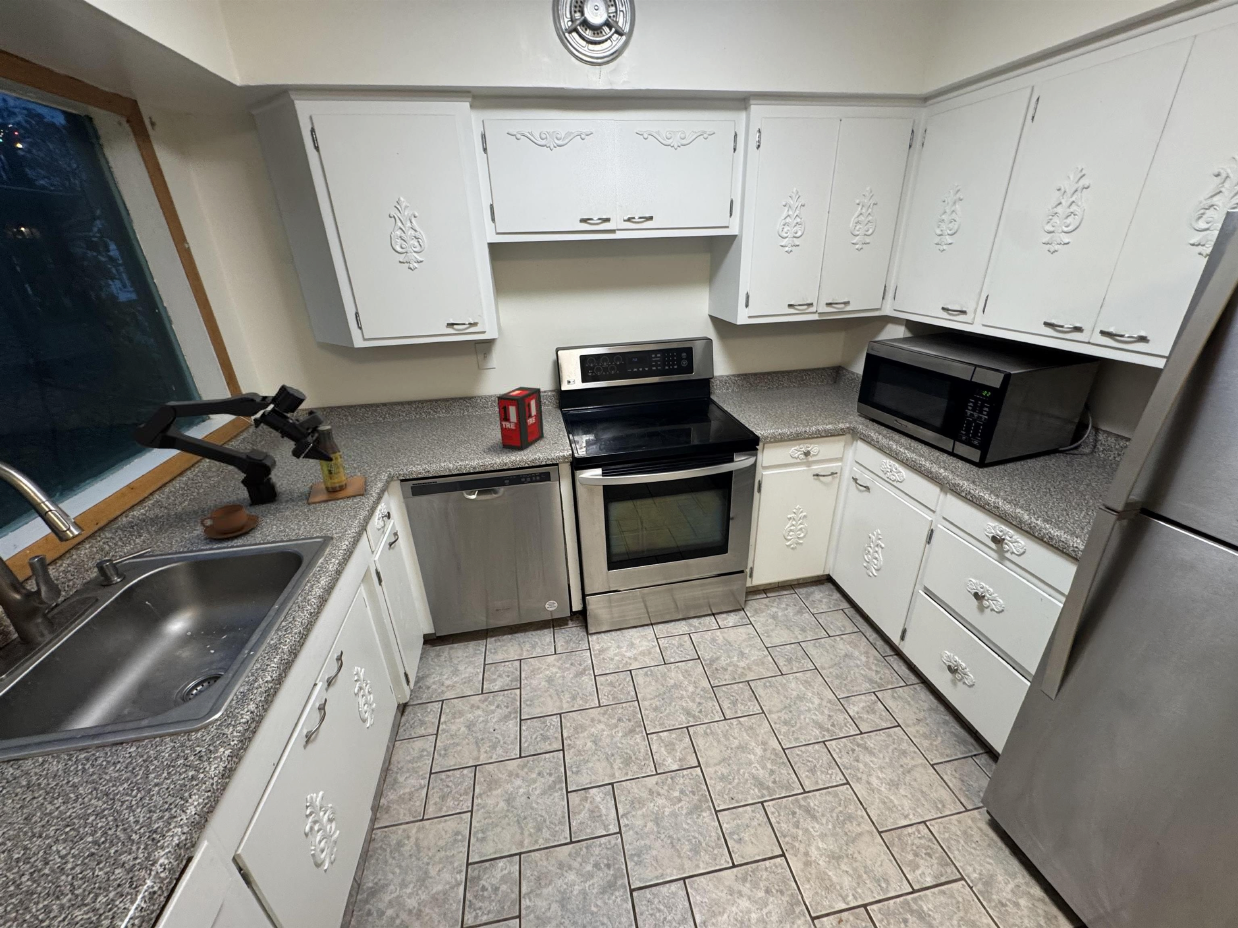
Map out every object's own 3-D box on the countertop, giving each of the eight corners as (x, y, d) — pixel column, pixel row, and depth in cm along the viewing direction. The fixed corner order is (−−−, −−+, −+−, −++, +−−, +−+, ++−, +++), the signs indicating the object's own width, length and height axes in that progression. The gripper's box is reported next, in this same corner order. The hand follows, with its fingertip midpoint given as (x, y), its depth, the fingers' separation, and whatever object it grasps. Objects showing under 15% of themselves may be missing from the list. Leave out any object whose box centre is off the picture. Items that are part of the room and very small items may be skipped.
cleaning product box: (524, 434, 206) (520, 386, 198) (543, 436, 203) (540, 388, 196) (502, 447, 192) (497, 396, 184) (522, 450, 189) (518, 398, 181)
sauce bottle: (333, 494, 153) (318, 432, 146) (321, 490, 156) (305, 429, 149) (353, 486, 159) (339, 426, 151) (340, 482, 162) (326, 423, 154)
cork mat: (308, 504, 149) (307, 502, 148) (313, 485, 161) (312, 483, 161) (364, 494, 154) (364, 493, 154) (364, 477, 167) (364, 475, 167)
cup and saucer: (211, 547, 126) (203, 526, 124) (201, 531, 134) (193, 511, 132) (266, 530, 134) (259, 509, 132) (254, 515, 142) (247, 496, 140)
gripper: (294, 412, 138) (347, 445, 145) (308, 396, 154) (356, 426, 162) (268, 443, 138) (323, 474, 146) (286, 423, 155) (334, 452, 162)
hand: (335, 455), depth 154 cm, fingers open, 9 cm apart
